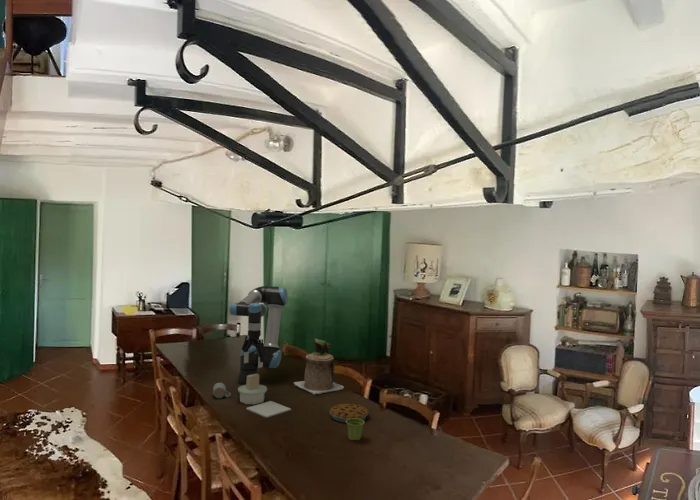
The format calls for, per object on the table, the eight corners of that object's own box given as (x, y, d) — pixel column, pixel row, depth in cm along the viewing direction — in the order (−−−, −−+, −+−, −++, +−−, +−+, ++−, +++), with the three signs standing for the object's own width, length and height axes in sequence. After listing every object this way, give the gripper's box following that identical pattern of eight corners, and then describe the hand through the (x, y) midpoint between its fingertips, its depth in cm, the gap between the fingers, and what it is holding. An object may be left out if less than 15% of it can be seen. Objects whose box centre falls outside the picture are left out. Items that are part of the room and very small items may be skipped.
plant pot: (352, 433, 281) (352, 416, 281) (367, 437, 276) (368, 421, 276) (341, 438, 274) (342, 421, 273) (357, 443, 268) (357, 426, 268)
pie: (373, 413, 311) (373, 405, 311) (361, 427, 291) (361, 418, 290) (337, 408, 318) (337, 399, 318) (323, 420, 298) (323, 411, 297)
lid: (254, 384, 337) (255, 369, 336) (272, 390, 326) (273, 375, 325) (232, 389, 324) (232, 374, 324) (249, 396, 313) (250, 381, 312)
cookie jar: (315, 396, 338) (317, 345, 336) (292, 385, 356) (293, 337, 355) (345, 389, 354) (347, 340, 352) (321, 379, 373) (323, 333, 371)
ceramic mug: (212, 399, 324) (213, 386, 324) (212, 394, 332) (213, 382, 332) (231, 398, 327) (231, 386, 326) (230, 394, 335) (231, 382, 334)
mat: (270, 402, 323) (270, 400, 323) (291, 410, 311) (291, 408, 311) (246, 409, 310) (246, 407, 310) (266, 417, 298) (266, 416, 298)
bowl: (254, 394, 335) (254, 385, 335) (268, 400, 326) (268, 390, 326) (235, 399, 325) (236, 390, 324) (250, 405, 316) (250, 395, 315)
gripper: (236, 327, 328) (235, 361, 329) (262, 333, 312) (261, 370, 313) (246, 325, 334) (245, 359, 335) (272, 332, 317) (271, 368, 318)
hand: (253, 365), depth 324 cm, fingers open, 13 cm apart
